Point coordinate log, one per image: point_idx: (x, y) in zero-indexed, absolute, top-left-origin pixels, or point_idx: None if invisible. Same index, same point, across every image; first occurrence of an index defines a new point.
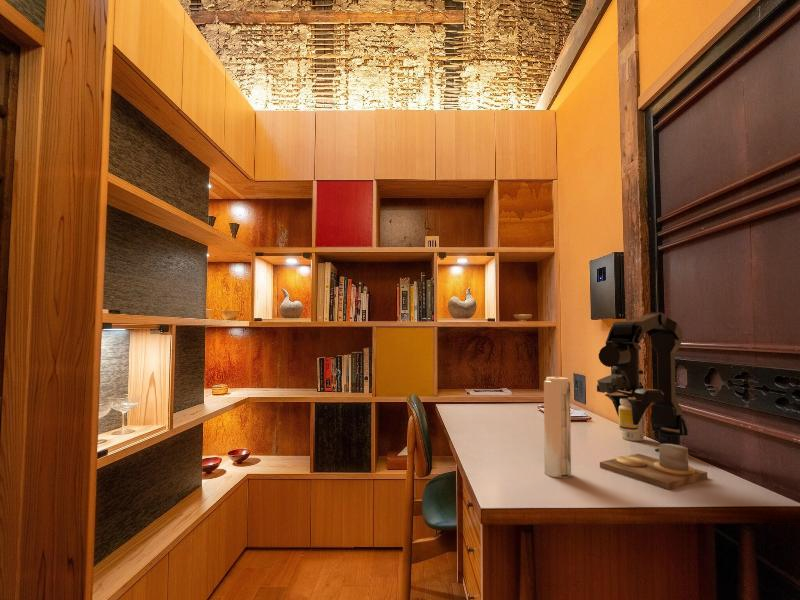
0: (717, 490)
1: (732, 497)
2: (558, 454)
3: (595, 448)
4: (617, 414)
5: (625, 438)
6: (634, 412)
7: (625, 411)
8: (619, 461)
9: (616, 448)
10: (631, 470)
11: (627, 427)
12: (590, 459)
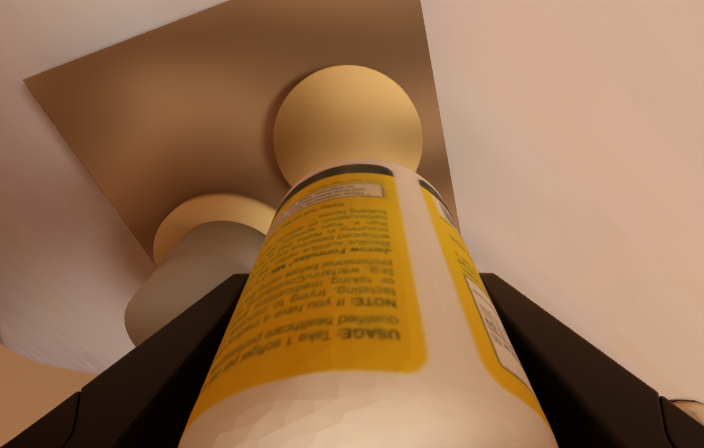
0: (91, 264)
1: (26, 255)
2: None
3: (690, 201)
4: (550, 315)
5: (688, 404)
6: (78, 402)
7: (253, 347)
8: (351, 65)
9: (624, 293)
10: (221, 36)
11: (290, 199)
12: (560, 7)
